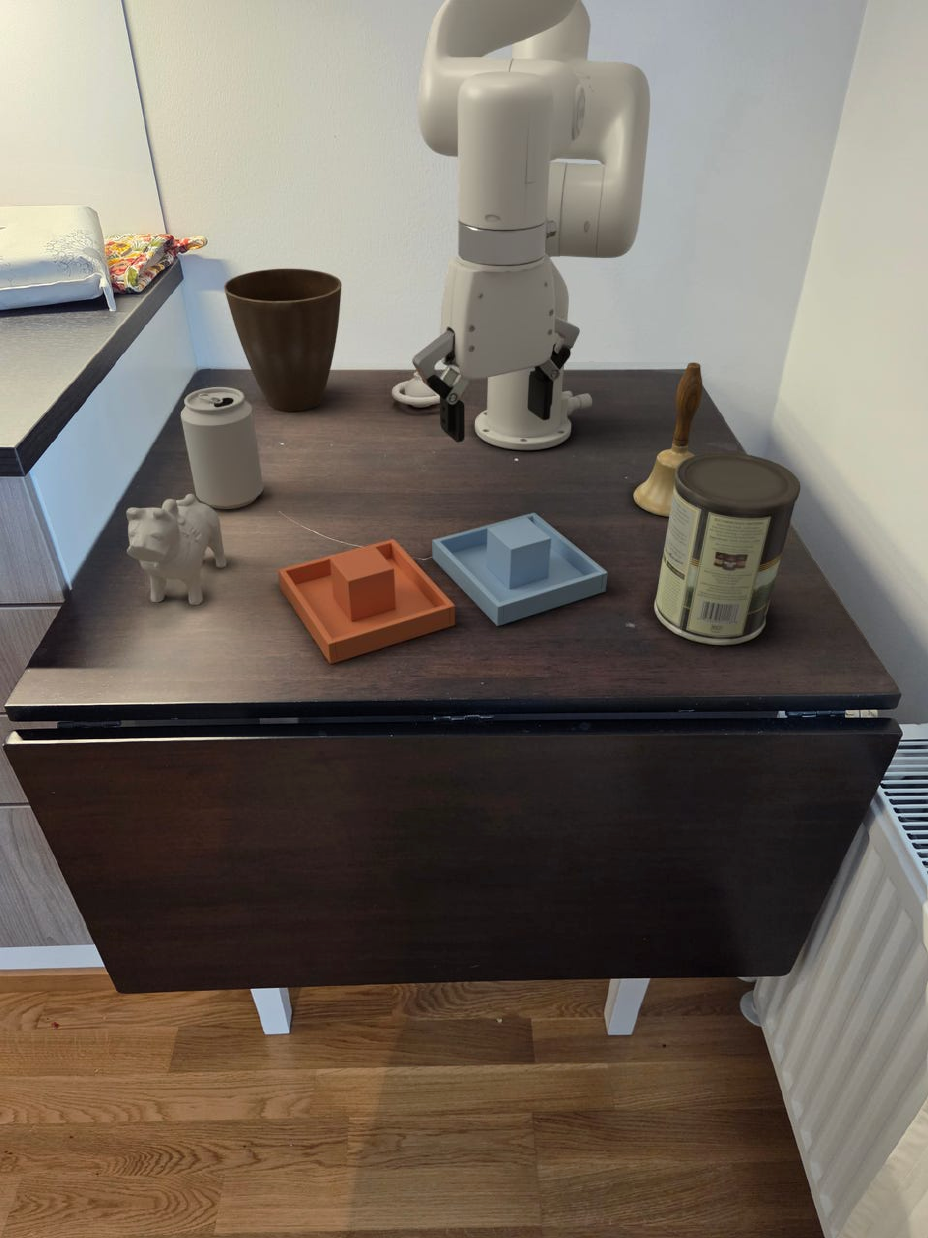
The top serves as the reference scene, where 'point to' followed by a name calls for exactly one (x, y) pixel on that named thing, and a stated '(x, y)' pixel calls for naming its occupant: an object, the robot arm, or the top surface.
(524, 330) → the robot arm
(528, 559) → the blue block
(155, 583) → the dog figurine
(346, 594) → the terracotta block
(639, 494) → the hand bell
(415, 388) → the ring around a ball
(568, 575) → the blue tray
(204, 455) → the can
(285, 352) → the flower pot
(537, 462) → the top surface
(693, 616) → the coffee can
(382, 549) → the terracotta tray
